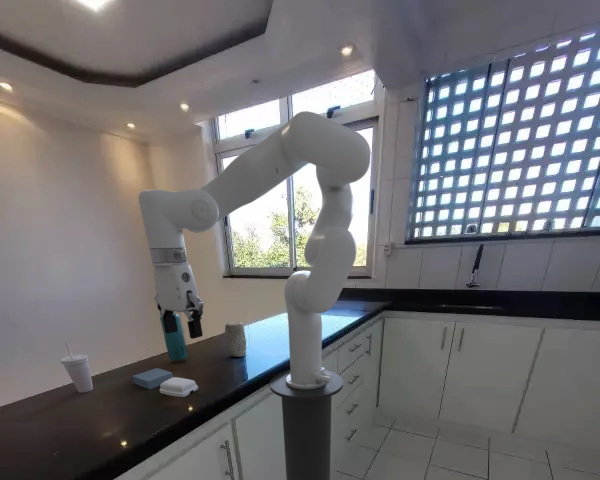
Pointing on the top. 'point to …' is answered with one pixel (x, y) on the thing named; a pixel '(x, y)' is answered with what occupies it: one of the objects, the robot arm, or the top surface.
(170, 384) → the white clamshell food container
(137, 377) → the rubber pad
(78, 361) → the smoothie
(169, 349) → the beverage bottle
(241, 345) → the carving
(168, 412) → the top surface
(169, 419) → the top surface
